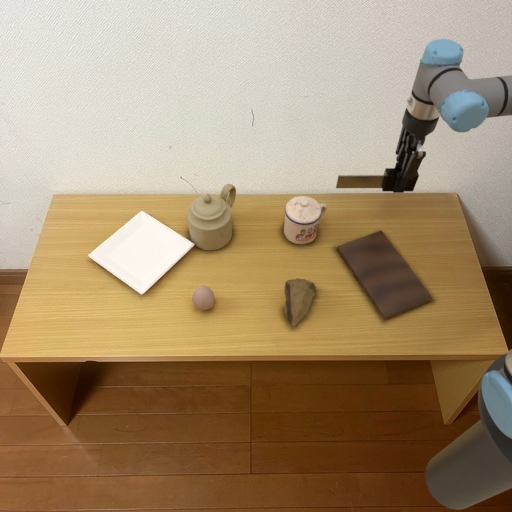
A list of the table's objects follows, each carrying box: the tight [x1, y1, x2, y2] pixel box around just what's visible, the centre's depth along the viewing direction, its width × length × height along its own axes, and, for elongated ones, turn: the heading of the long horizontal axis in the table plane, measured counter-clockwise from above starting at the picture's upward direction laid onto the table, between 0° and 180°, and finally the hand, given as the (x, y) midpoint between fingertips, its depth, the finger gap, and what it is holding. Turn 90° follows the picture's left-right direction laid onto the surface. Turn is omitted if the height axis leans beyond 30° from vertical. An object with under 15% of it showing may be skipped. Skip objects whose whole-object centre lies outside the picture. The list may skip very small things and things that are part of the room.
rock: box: [284, 277, 318, 327], centre depth 109 cm, size 11×9×10 cm
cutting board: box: [336, 230, 433, 321], centre depth 117 cm, size 22×13×2 cm, turn 24°
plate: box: [87, 210, 195, 295], centre depth 119 cm, size 19×19×2 cm
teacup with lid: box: [283, 195, 327, 245], centre depth 121 cm, size 12×9×12 cm
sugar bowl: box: [186, 183, 237, 251], centre depth 119 cm, size 15×11×15 cm
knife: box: [335, 167, 420, 192], centre depth 123 cm, size 20×3×6 cm, turn 91°
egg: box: [191, 285, 216, 311], centre depth 109 cm, size 5×5×7 cm
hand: (396, 186), depth 125 cm, fingers closed on knife, 3 cm apart
